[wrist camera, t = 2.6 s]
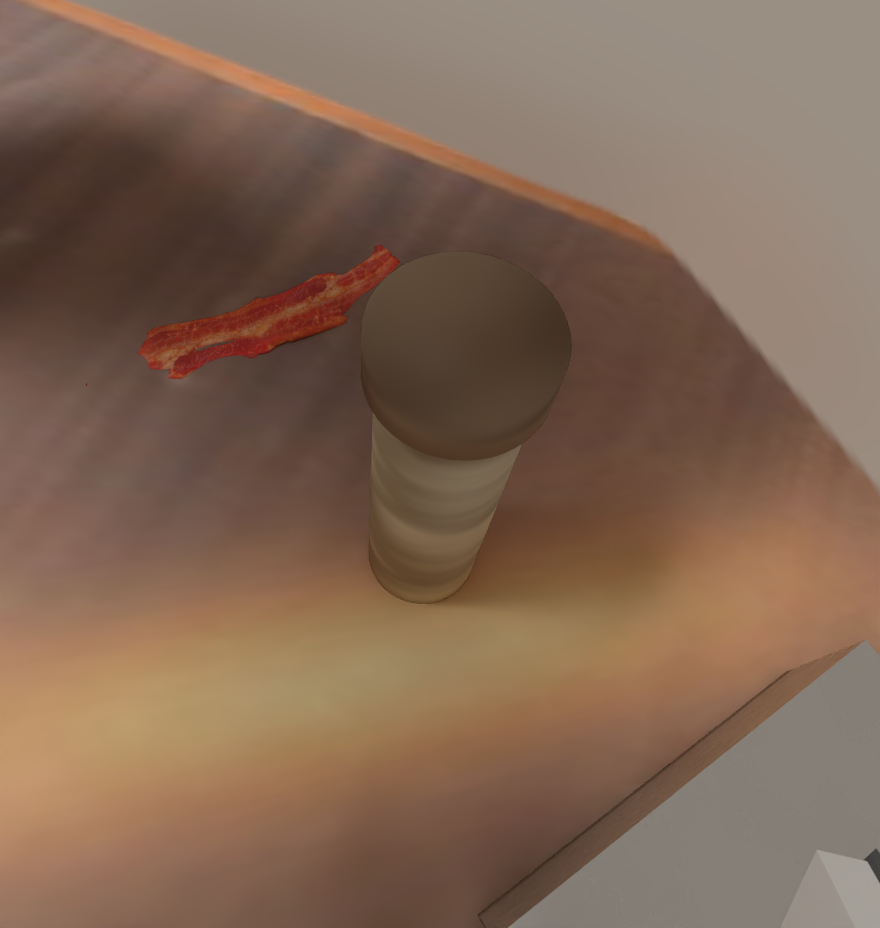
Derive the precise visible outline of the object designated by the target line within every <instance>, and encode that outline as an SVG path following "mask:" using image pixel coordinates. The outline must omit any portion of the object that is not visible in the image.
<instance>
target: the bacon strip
mask: <svg viewBox="0 0 880 928" xmlns="http://www.w3.org/2000/svg"><path fill="white" fill-rule="evenodd" d="M399 262H400V261H399V260H398V259H397V258H395V257H394V256H393V257H392V254H391V253H390V252H389V251H388V250H387V249H386V248H385V249H384V246H382V245H378V246H375V251H374V253H373V254H372V256H371V257H370V258H369V259H367V260H365V261H364V262H362V263H361V264H359V265H358V266H356V267H355V268H353V269H351V270H350V271H348V272H347V273H345V274H344V275H337V274H334V273H331V272H330V273H326V274H320V275H315V276H313V277H312V278H311V279H309V280H307V281H305V282H303V283H302V284H300V285H298V286H296V287H294V288H292V289H290V290H288V291H286V292H284V293H281V294H277V295H274V296H270V297H266V298H261V299H260V298H258V297H256V298H255V299H254V300H253V301H252V302H250V303H249V304H247V305H246V306H244V307H242V308H240V309H238V310H236V311H233V312H231V313H229V312H227V313H225V314H222V315H218V316H214V317H209V318H204V319H199V320H194V321H189V322H185V323H178V324H170V325H165V326H160V327H156V328H153V329H152V330H150V331H149V332H148V333H147V334H148V339H147V340H146V341H145V342H144V344H143V345H142V347H141V349H140V350H139V352H138V354H140V355H141V356H143V357H144V358H146V359H147V361H148V364H149V367H150V369H157V370H162V369H168V368H171V369H170V373H169V378H172V379H182V378H184V377H185V376H187V375H188V374H190V373H191V372H193V371H194V370H196V369H197V368H199V367H201V366H202V365H204V364H205V363H207V362H209V361H212V360H215V359H217V358H220V357H226V356H232V355H244V356H246V357H248V358H255V357H256V356H257V355H260V354H265V353H268V352H270V351H272V350H273V349H274V348H275V347H277V346H278V345H281V344H283V343H285V342H287V341H290V342H294V341H296V340H299V339H302V338H305V337H308V336H311V335H314V334H317V333H320V332H323V331H326V330H329V329H331V328H334V327H337V326H340V325H342V324H344V323H345V322H346V320H347V318H348V317H345V316H342V315H343V314H344V313H345V312H346V311H347V310H348V309H349V308H350V307H351V306H352V304H353V303H354V302H355V301H356V300H357V298H358V297H359V296H360V295H362V294H363V293H365V292H367V291H369V290H370V289H372V288H373V287H375V286H376V285H377V284H378V283H379V282H380V281H381V280H383V279H384V278H385V277H386V276H387V275H388V274H389V273H391V272H392V271H393V270H395V269H396V267H397V265H398V264H399ZM231 340H236V341H233V342H231V343H228V344H224V345H218V346H213V347H210V348H207V349H204V350H201V351H197V352H194V351H196V350H197V349H199V348H201V347H204V346H207V345H210V344H214V343H220V342H226V341H231ZM86 386H87V384H86Z"/></svg>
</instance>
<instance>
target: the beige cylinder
mask: <svg viewBox="0 0 880 928" xmlns="http://www.w3.org/2000/svg"><path fill="white" fill-rule="evenodd" d="M570 357H571V335H570V330H569V326H568V322H567V320H566V317H565V315H564V312H563V310H562V309H561V307H560V305H559V303H558V302H557V300H556V299H555V298H554V296H553V295H552V294H551V292H550V291H549V290H548V289H547V288H546V287H545V286H544V285H543V284H542V283H541V282H540V281H538V280H537V279H536V278H535V277H534V276H532V275H531V274H529V273H528V272H526V271H525V270H523V269H522V268H520V267H518V266H516V265H514V264H512V263H510V262H507V261H505V260H502V259H500V258H496V257H493V256H489V255H486V254H480V253H474V252H461V251H458V252H442V253H435V254H431V255H427V256H423V257H420V258H417V259H415V260H412V261H410V262H408V263H406V264H404V265H402V266H400V267H399V268H397V269H396V270H394V271H393V272H392V273H390V274H389V275H388V276H387V277H386V278H385V279H384V280H383V281H381V283H380V284H379V285H378V286H377V288H376V289H375V290H374V292H373V293H372V295H371V297H370V298H369V300H368V303H367V305H366V307H365V310H364V314H363V318H362V327H361V378H362V386H363V390H364V394H365V397H366V400H367V402H368V404H369V407H370V408H371V410H372V412H373V423H372V457H371V491H370V525H369V561H370V565H371V568H372V571H373V573H374V575H375V577H376V579H377V580H378V582H379V583H380V584H381V585H382V586H383V587H384V588H385V589H386V590H387V591H388V592H389V593H391V594H392V595H394V596H396V597H397V598H400V599H402V600H405V601H408V602H412V603H433V602H437V601H440V600H443V599H445V598H447V597H449V596H451V595H452V594H454V593H455V592H456V591H457V590H458V589H459V588H461V586H462V585H463V584H464V583H465V581H466V580H467V578H468V576H469V574H470V572H471V569H472V567H473V564H474V562H475V560H476V557H477V555H478V552H479V550H480V547H481V545H482V542H483V540H484V537H485V535H486V532H487V530H488V527H489V525H490V522H491V520H492V517H493V515H494V512H495V510H496V507H497V505H498V503H499V500H500V498H501V495H502V493H503V490H504V488H505V485H506V483H507V480H508V478H509V475H510V473H511V470H512V468H513V465H514V463H515V460H516V458H517V455H518V453H519V451H520V448H521V446H522V443H524V442H525V441H527V440H528V439H529V438H530V437H531V436H532V435H533V434H534V433H535V432H536V431H537V430H538V429H539V427H540V426H541V425H542V423H543V422H544V420H545V419H546V417H547V415H548V413H549V411H550V408H551V406H552V404H553V401H554V399H555V397H556V395H557V392H558V390H559V388H560V385H561V383H562V381H563V378H564V376H565V374H566V371H567V369H568V365H569V361H570Z"/></svg>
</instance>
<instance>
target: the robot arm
mask: <svg viewBox="0 0 880 928" xmlns="http://www.w3.org/2000/svg"><path fill="white" fill-rule="evenodd" d="M780 928H880V883H879V881H878V880H877V878H876V876H875V874H874V872H873V871H872V869H871V867H870V865H869V864H868V862H867V861H863V860H859V859H855V858H850V857H846V856H842V855H837V854H833V853H829V852H825V851H820V850H816V852H815V854H814V856H813V859H812V861H811V863H810V865H809V867H808V869H807V871H806V874H805V876H804V878H803V880H802V882H801V884H800V887H799V889H798V891H797V893H796V895H795V897H794V899H793V902H792V904H791V906H790V908H789V910H788V912H787V914H786V917H785V919H784V921H783V923H782V925H781V927H780Z"/></svg>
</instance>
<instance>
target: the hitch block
mask: <svg viewBox="0 0 880 928" xmlns="http://www.w3.org/2000/svg"><path fill="white" fill-rule="evenodd" d="M816 850H820V851H825V852H829V853H833V854H837V855H842V856H846V857H850V858H855V859H859V860H863V861H867V862H868V864H869V865H870V867H871V869H872V871H873V872H874V874H875V876H876V878H877V880H878V881H879V883H880V656H879V654H878V653H877V652H876V651H875V650H874V649H873V648H872V646H871V645H870V644H869V643H868V642H867V641H866V640H863V641H861V642H858V643H856V644H854V645H851V646H849V647H846V648H844V649H841V650H839V651H836V652H834V653H831V654H829V655H827V656H824V657H822V658H819V659H817V660H814V661H812V662H809V663H807V664H804V665H802V666H800V667H797V668H795V669H792V670H790V671H787V672H786V673H784V674H783V675H782V676H781V677H779V678H778V679H777V680H776V681H774V682H773V683H772V684H770V685H769V686H768V687H767V688H765V689H764V690H763V691H762V692H760V693H759V694H758V695H756V696H755V697H754V698H753V699H751V700H750V701H749V702H748V703H746V704H745V705H744V706H742V707H741V708H740V709H739V710H737V711H736V712H735V713H734V714H732V715H731V716H730V717H728V718H727V719H726V720H725V721H723V722H722V723H721V724H720V725H718V726H717V727H716V728H715V729H713V730H712V731H711V732H709V733H708V734H707V735H706V736H704V737H703V738H702V739H701V740H699V741H698V742H697V743H695V744H694V745H693V746H692V747H690V748H689V749H688V750H687V751H685V752H684V753H683V754H681V755H680V756H679V757H678V758H676V759H675V760H674V761H673V762H671V763H670V764H669V765H667V766H666V767H665V768H664V769H662V770H661V771H660V772H659V773H657V774H656V775H655V776H654V777H652V778H651V779H650V780H648V781H647V782H646V783H645V784H643V785H642V786H641V787H640V788H638V789H637V790H636V791H634V792H633V793H632V794H631V795H629V796H628V797H627V798H626V799H624V800H623V801H622V802H620V803H619V804H618V805H617V806H615V807H614V808H613V809H612V810H610V811H609V812H608V813H606V814H605V815H604V816H603V817H601V818H600V819H599V820H598V821H596V822H595V823H594V824H592V825H591V826H590V827H589V828H587V829H586V830H585V831H584V832H582V833H581V834H580V835H579V836H577V837H576V838H575V839H573V840H572V841H571V842H570V843H568V844H567V845H566V846H565V847H563V848H562V849H561V850H559V851H558V852H557V853H556V854H554V855H553V856H552V857H551V858H549V859H548V860H547V861H545V862H544V863H543V864H542V865H540V866H539V867H538V868H537V869H535V870H534V871H533V872H531V873H530V874H529V875H528V876H526V877H525V878H524V879H523V880H521V881H520V882H519V883H518V884H516V885H515V886H514V887H512V888H511V889H510V890H509V891H507V892H506V893H505V894H504V895H502V896H501V897H500V898H498V899H497V900H496V901H495V902H493V903H492V904H491V905H490V906H488V907H487V908H486V909H484V910H483V911H482V912H481V913H479V914H478V917H479V919H480V920H481V922H482V924H483V925H484V927H485V928H780V927H781V925H782V923H783V921H784V919H785V917H786V914H787V912H788V910H789V908H790V906H791V904H792V902H793V899H794V897H795V895H796V893H797V891H798V889H799V887H800V884H801V882H802V880H803V878H804V876H805V874H806V871H807V869H808V867H809V865H810V863H811V861H812V859H813V856H814V854H815V852H816Z"/></svg>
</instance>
